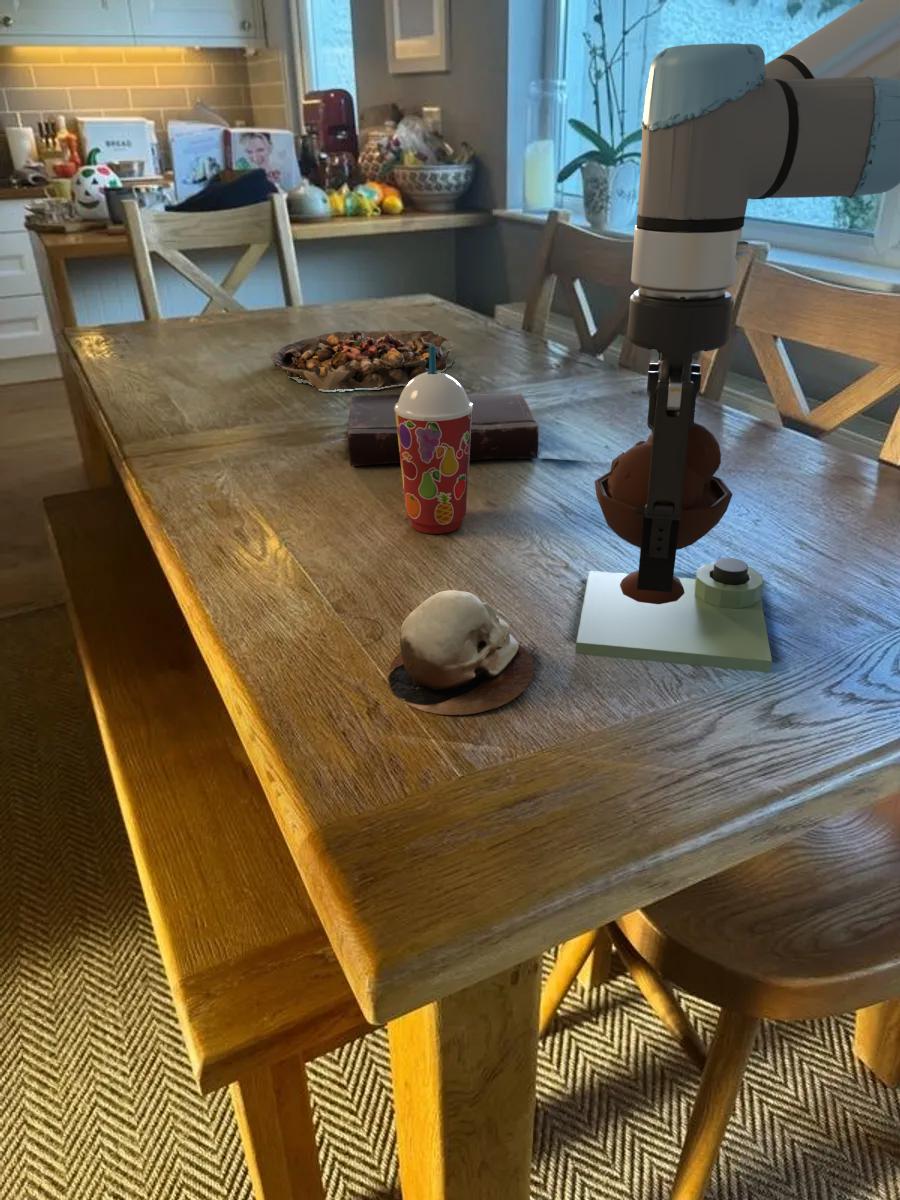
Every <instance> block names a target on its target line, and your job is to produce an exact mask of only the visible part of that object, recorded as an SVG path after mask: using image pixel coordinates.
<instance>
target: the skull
mask: <svg viewBox="0 0 900 1200" xmlns="http://www.w3.org/2000/svg"><path fill="white" fill-rule="evenodd" d="M510 628H511V627H510V626H509V624H508V623H507V622H506V621H505V620H503V619H502V618H500V617H499V615H498V614H497V613H496V612H495V610H494V609H493V607H492V606H491V605H490V604H488V603H487V602H482V600H481V599H480V598H479V597H478V596H477V595H476V594H474V593H473V592H469V591H462V590H455V589H449V590H442V591H440V592H436V593H435V594H433V595H431V596H429V597H428V598H426V600H424V601H422V602H421V603H420V604H419V605H417V607H416V608H415V609H414V610H413V611H411V612H410V613H409V615H408V616H407V617H406V618H405V619H404V621H403V623H402V625H401V626H400V633H399V648H400V652H399V653H398V654H397V655H396V656H395V658H394V659H393V660H392V662H391V664H390V666H389V669H388V673H387V680H388V684H389V687H390V689H391V691H392V693H393V694H394V695H395V696H396V697H397V698H398V699H399V700H400V701H402V702H403V703H404V704H406V705H408V706H410V707H413V708H414V709H416V710H420V711H423V712H426V713H431V714H435V715H436V714H437V715H446V716H447V715H448V716H462V715H463V716H465V715H467V716H468V715H472V714H477V713H483V712H486V711H490V710H495V709H497V708H499V707H501V706H504V705H506V704H508V703H509V702H511V701H513V700H514V699H516V698H517V697H519V696H520V695H521V694H523V692H524V691H525V690H526V689H527V688H528V686H529V685H530V683H531V682H532V679H533V676H534V673H535V665H534V661H533V658H532V656H531V655H530V653H529V652H528V650H527V649H526V648H525V647H524V646H522V645H521V644H519V643H518V642H517V640H516V638H515V637H514V636H513V635H511V634H510Z"/></svg>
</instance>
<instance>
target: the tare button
mask: <svg viewBox="0 0 900 1200" xmlns="http://www.w3.org/2000/svg"><path fill="white" fill-rule="evenodd" d="M713 563H714V570H713V580H715V581H716V582H719V583H722V584H725V585H741V584H745V583H746V579H747V572H748V567H749V566H748V565H749V564H747V562H745V561H743V560H742V559H739V558H735V557H722V558H718V559H716V560H715V561H714V562H713Z"/></svg>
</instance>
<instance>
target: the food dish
mask: <svg viewBox="0 0 900 1200" xmlns="http://www.w3.org/2000/svg"><path fill="white" fill-rule="evenodd" d="M444 342H449V344H450V346H449V347H448V348H447V350H446V351H445V352H443V350H442V347H441V346H442V344H443V343H444ZM431 345H434V346H435V358H436V371H437V370H443V369H445V368H447V362H448V356H449V354H450V352H451V351H452V349H453V347H454V343H453V342H452V341H451V340H449V338H448V337H447V336H444V335H442V334H439V333H435V332H434V331H432V330H428V329H427V330H425V329H422V330H417V329H416V330H412V329H411V330H405V329H395V330H394V329H372V330H351V331H335V332H330V333H324V334H320V335H317V336H312V337H307V338H304V339H300V340H296V341H294V342H292V343H287V344H286V345H284V346H282V347H280V348H278V349H276V350H275V351H274V352H272V353H271V356H270V359H271V361H272V363H273V364H274V368H277V367H279V368H280V369H283V370H285V372H286V371H288V373H286V376H287V377H288V376H289V377H299V378H298V379H303V380H307V381H310V382H311V384H312V385H313V386H315V387H314V388H316V389H317V388H318V389H323V390H335V389H336V390H337V389H343V390H344V389H355V388H374V387H378V388H381V387H385V386H391V385H399V384H406V383H408V382H409V381H410V380H412V379H413V378H414V377H416V376H418V375H420V374H422V373H425V372H430V369H429V346H431ZM443 355H444V356H443ZM300 376H301V377H300ZM313 386H312V387H313ZM378 388H377V389H378Z"/></svg>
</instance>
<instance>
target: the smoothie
mask: <svg viewBox="0 0 900 1200" xmlns="http://www.w3.org/2000/svg"><path fill="white" fill-rule="evenodd" d="M429 369H430V372H425V373H422V374H420V375H418V376H416V377H414V378H413V379H412V380H410V381H409V382H408V384H407V385H406V386H405V387H403V389H402V391H401V393H400V394H401V396H400V398H399V401H398V403H396V405H395V407H394V411H395V413H396V424H397V433H398V442H399V452H400V461H401V462H400V467H401V468H400V469H401V477H402V486H403V487H402V488H403V495H404V505H405V515H406V517H407V519H408V520H410V524H411V526H412V528H413V529H414V530H416V531H418V532H420V533H423V534H430V535H441V534H442V535H443V534H448V533H451V532H454V531H456V530H458V529H459V528H460V527H461V526H462V524H463V519H464V518H465V517H466V516H467V510H468V509H467V508H468V492H469V474H470V473H469V471H470V460H469V455H470V437H471V419H472V408H473V404H472V403H471V402H470V401H469V399H468V396H467V395H468V394H467V392H466V389H464V387H463V385H462V384H461V383H460V382H459V381H458V380H457V379H456V378H454V377H453V376H451V375H450V374H447V373H445V372H442V373H441V372H437V371H436V358H435V346H434V345H431V346H429Z"/></svg>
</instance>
